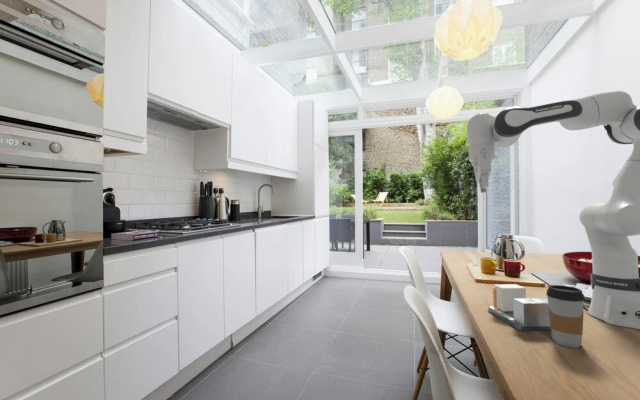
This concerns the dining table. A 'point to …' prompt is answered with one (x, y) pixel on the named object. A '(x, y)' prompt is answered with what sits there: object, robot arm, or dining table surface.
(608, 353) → the dining table surface
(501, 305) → the cream rectangular block
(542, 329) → the base
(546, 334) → the dining table surface
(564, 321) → the coffee cup
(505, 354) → the dining table surface
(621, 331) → the dining table surface
